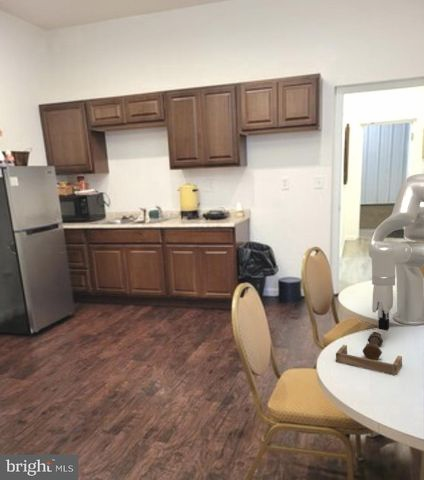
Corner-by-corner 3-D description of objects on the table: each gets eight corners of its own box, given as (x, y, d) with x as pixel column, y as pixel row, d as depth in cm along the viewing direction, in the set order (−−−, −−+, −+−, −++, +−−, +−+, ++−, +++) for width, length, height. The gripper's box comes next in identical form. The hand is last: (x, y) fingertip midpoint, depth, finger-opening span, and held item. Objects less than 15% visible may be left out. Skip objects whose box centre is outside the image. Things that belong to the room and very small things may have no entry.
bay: (343, 352, 130) (343, 344, 129) (402, 365, 118) (401, 356, 118) (336, 361, 124) (335, 353, 124) (396, 375, 113) (396, 366, 112)
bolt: (379, 345, 136) (374, 364, 123) (365, 337, 138) (360, 354, 125) (387, 333, 134) (383, 350, 121) (374, 325, 136) (369, 341, 123)
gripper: (378, 274, 141) (378, 321, 144) (366, 284, 130) (366, 334, 132) (400, 276, 137) (400, 324, 139) (389, 286, 125) (389, 338, 128)
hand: (383, 329), depth 136 cm, fingers closed
